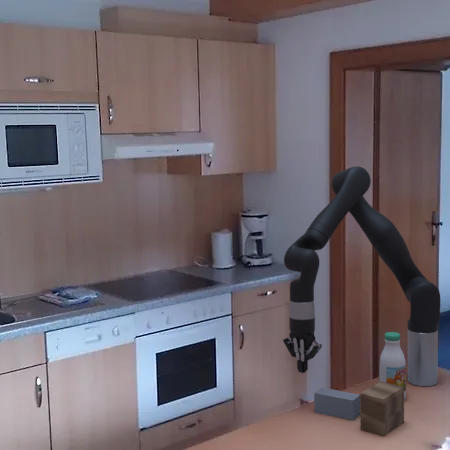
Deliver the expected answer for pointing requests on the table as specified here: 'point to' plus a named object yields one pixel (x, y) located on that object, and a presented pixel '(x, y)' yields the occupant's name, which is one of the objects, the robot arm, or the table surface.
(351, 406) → the pale blue brick
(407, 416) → the table surface
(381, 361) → the milk bottle
